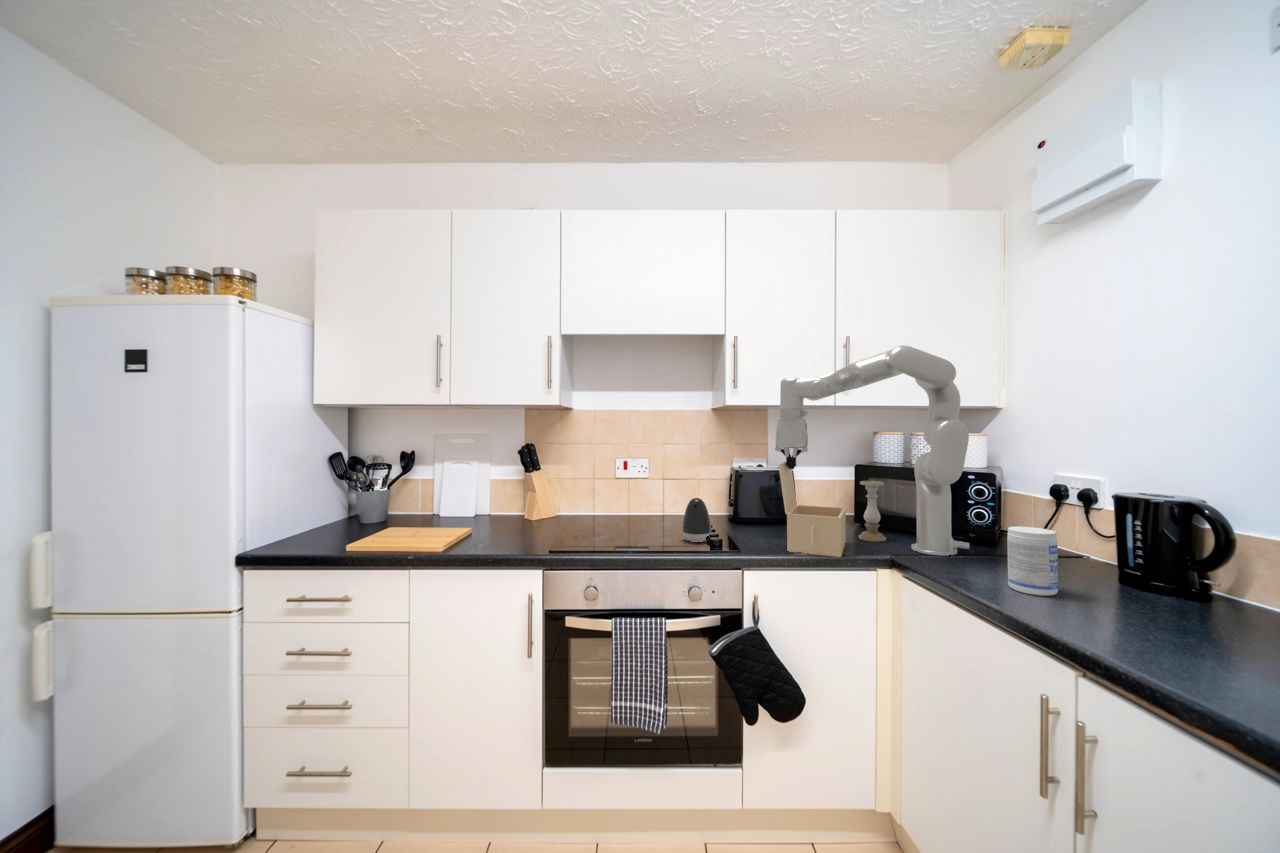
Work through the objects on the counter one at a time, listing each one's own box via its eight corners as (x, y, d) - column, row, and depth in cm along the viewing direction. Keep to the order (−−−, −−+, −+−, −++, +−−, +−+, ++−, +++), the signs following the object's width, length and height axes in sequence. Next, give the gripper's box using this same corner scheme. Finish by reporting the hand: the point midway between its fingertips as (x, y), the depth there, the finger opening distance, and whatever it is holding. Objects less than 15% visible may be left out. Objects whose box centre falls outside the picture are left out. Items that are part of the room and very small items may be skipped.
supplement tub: (1063, 599, 113) (1062, 535, 113) (1011, 593, 117) (1011, 531, 118) (1052, 587, 121) (1051, 527, 121) (1004, 582, 126) (1004, 524, 126)
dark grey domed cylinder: (679, 544, 169) (679, 499, 169) (684, 537, 179) (684, 495, 179) (709, 545, 166) (709, 500, 166) (712, 538, 176) (712, 496, 176)
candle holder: (857, 540, 172) (857, 482, 172) (859, 535, 180) (859, 480, 180) (885, 543, 168) (885, 483, 168) (886, 538, 176) (886, 481, 176)
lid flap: (790, 460, 177) (788, 460, 177) (779, 464, 159) (778, 464, 159) (796, 505, 176) (795, 505, 176) (787, 514, 158) (785, 514, 158)
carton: (845, 543, 169) (845, 508, 169) (840, 560, 147) (839, 520, 147) (797, 538, 176) (796, 505, 176) (784, 554, 154) (784, 516, 154)
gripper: (816, 415, 167) (815, 469, 167) (771, 415, 173) (771, 467, 174) (813, 414, 160) (812, 470, 160) (767, 414, 167) (766, 468, 167)
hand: (791, 468), depth 167 cm, fingers closed
